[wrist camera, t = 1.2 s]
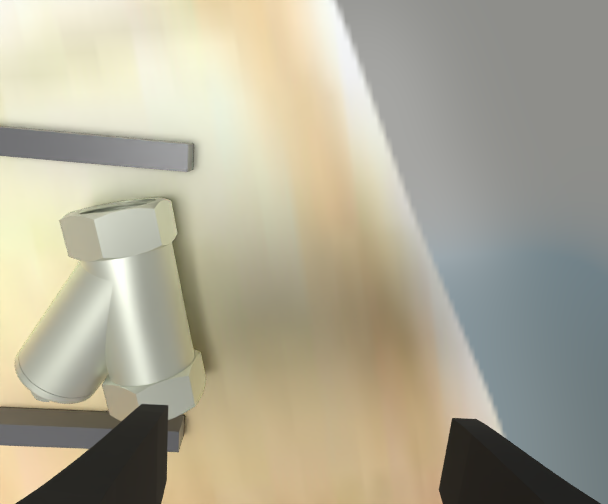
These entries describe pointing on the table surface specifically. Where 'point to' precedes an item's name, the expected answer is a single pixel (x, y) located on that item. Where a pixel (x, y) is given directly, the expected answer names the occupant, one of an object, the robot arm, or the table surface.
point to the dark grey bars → (96, 150)
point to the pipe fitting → (117, 316)
